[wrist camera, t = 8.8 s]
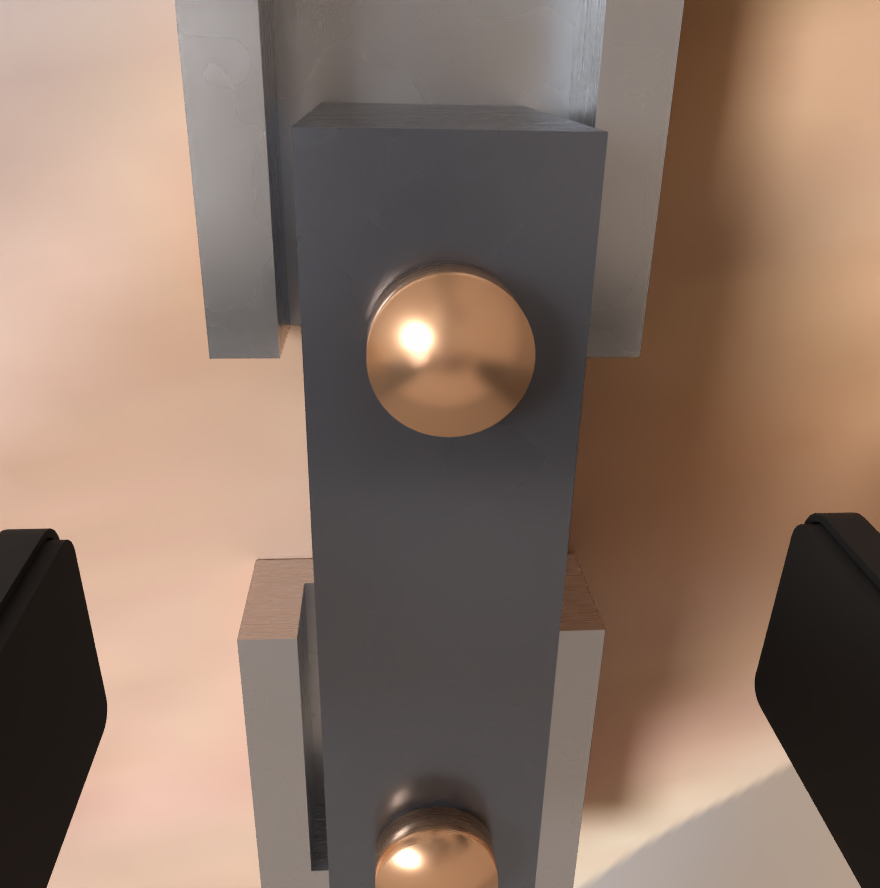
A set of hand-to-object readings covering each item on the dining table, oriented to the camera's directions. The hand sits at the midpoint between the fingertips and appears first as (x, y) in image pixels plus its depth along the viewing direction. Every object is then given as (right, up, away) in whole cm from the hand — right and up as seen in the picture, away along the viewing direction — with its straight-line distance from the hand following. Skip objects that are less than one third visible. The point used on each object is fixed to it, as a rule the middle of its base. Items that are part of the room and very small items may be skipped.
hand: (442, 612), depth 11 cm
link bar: (0, +2, +7) cm, 7 cm away
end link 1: (0, +9, +5) cm, 10 cm away
